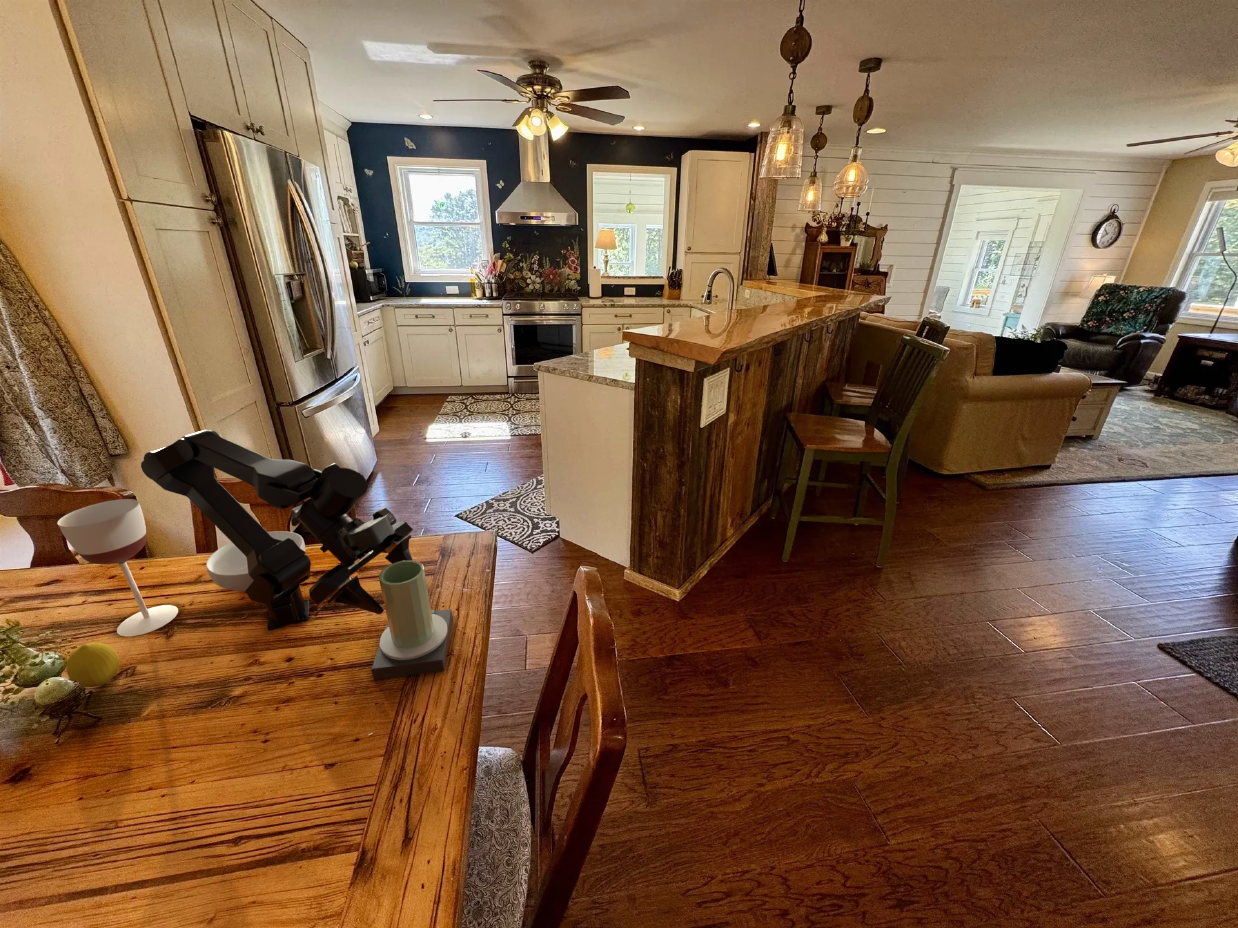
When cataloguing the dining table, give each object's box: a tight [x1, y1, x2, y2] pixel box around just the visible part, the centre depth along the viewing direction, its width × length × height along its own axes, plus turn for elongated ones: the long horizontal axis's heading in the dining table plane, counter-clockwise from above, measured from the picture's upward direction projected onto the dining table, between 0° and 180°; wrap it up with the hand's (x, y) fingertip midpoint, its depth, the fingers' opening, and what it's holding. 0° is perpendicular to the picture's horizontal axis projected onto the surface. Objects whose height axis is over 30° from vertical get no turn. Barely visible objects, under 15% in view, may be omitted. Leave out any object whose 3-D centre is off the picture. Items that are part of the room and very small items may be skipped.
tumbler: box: [378, 559, 434, 648], centre depth 83 cm, size 7×7×13 cm
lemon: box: [65, 642, 121, 688], centre depth 77 cm, size 6×6×8 cm
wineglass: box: [57, 498, 179, 637], centre depth 88 cm, size 9×10×23 cm
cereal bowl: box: [205, 530, 306, 592], centre depth 103 cm, size 17×17×7 cm
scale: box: [370, 608, 454, 681], centre depth 86 cm, size 13×11×3 cm
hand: (401, 595), depth 83 cm, fingers open, 9 cm apart
